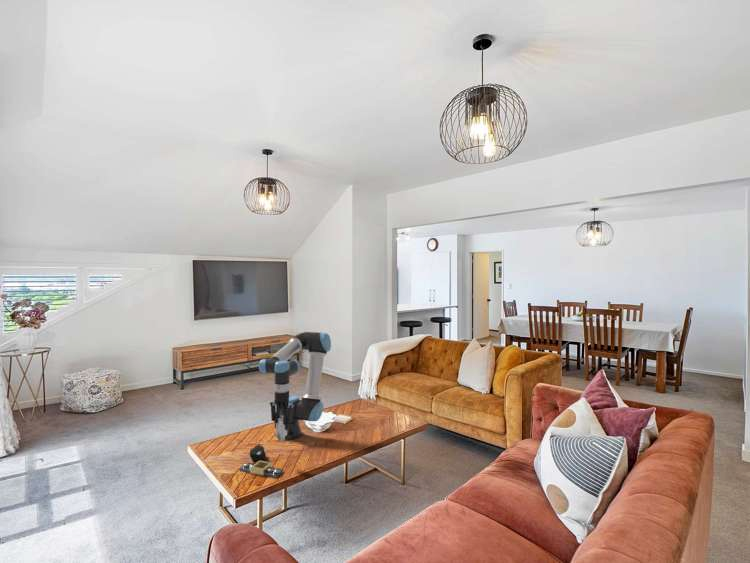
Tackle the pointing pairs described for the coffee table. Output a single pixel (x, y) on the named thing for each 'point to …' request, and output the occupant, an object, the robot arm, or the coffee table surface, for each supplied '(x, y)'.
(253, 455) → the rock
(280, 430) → the pin
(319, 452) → the coffee table surface
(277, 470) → the chain ends
